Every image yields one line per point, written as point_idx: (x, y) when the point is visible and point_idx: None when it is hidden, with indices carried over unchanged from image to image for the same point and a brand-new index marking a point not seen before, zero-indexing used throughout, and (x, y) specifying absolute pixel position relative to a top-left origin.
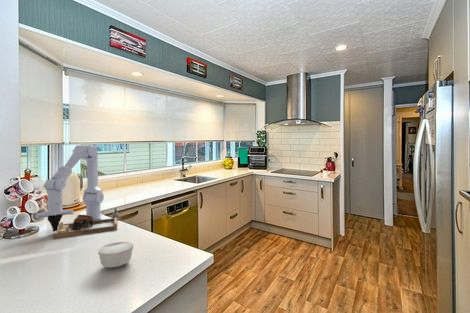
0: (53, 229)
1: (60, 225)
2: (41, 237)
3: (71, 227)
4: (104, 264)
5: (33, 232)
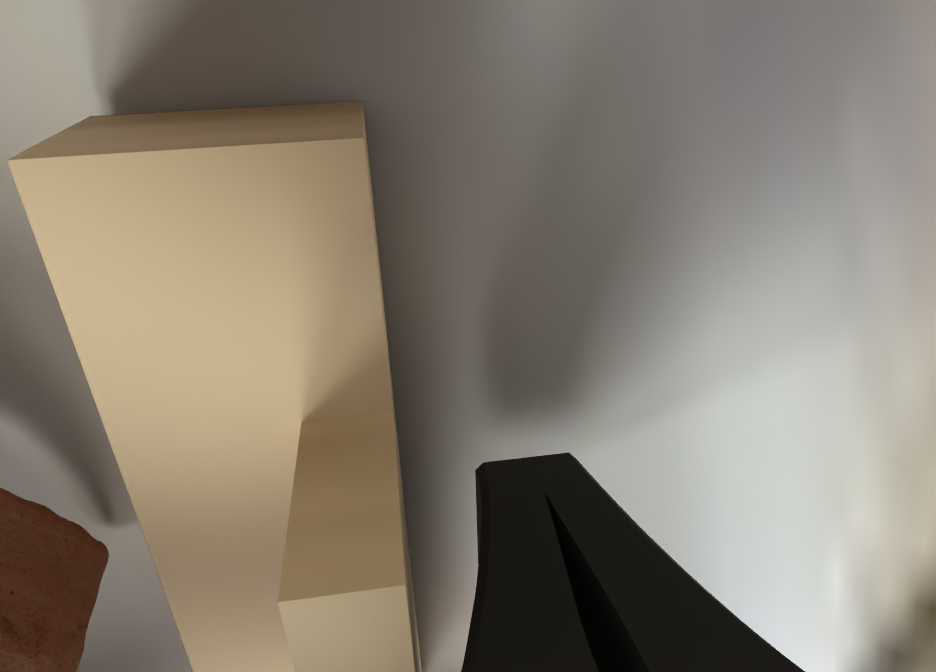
0: (582, 483)
1: (311, 557)
2: (815, 205)
3: (45, 619)
4: None
5: (933, 651)
